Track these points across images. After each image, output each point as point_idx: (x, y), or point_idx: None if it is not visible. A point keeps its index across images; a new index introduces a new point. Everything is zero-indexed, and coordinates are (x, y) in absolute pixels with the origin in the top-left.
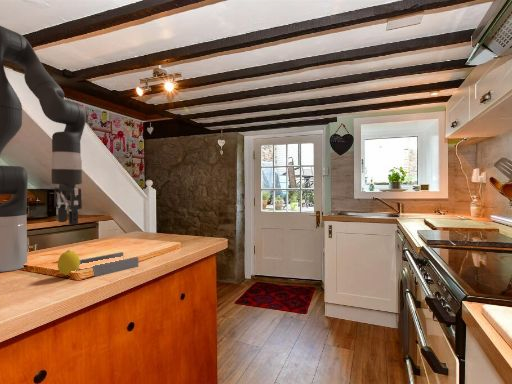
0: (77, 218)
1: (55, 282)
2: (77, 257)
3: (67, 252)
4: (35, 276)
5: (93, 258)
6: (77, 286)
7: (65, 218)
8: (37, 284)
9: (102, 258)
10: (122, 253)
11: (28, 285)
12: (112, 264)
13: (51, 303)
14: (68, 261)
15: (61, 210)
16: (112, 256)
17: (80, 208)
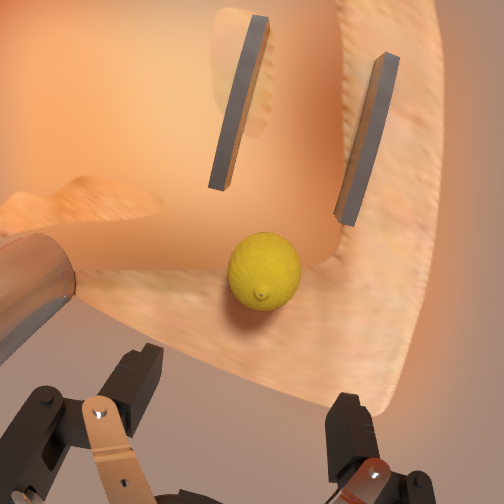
0: (362, 419)
1: None
2: (294, 265)
3: (269, 301)
4: (172, 289)
5: (235, 140)
6: (370, 295)
7: (155, 364)
8: (252, 326)
9: (246, 104)
10: (267, 21)
11: (239, 338)
12: (372, 159)
13: (396, 370)
14: (292, 296)
15: (132, 424)
16: (256, 62)
17: (423, 478)
